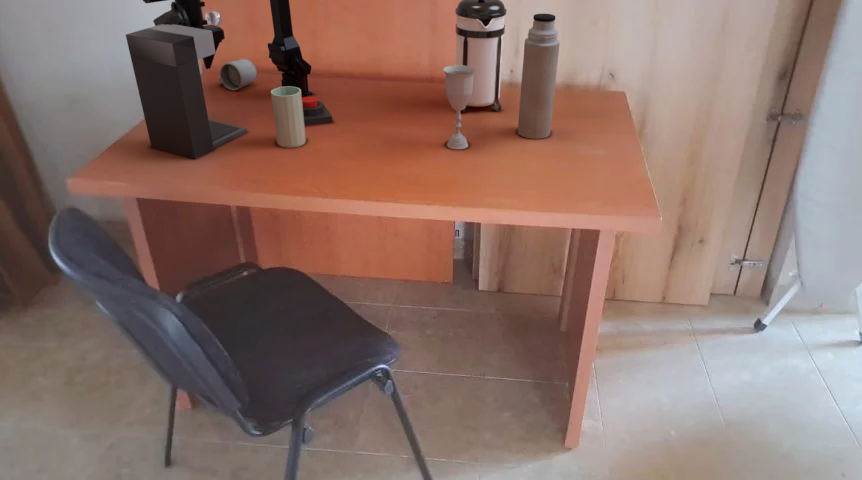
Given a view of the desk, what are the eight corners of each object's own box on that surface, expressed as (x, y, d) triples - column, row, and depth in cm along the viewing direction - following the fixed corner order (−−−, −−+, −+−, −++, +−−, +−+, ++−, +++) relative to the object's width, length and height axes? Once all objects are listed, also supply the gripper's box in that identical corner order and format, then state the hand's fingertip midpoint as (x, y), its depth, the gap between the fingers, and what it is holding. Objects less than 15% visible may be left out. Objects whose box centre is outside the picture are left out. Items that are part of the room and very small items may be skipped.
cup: (294, 134, 171) (289, 84, 164) (311, 142, 167) (306, 91, 160) (271, 142, 167) (264, 91, 160) (288, 150, 163) (282, 98, 156)
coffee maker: (206, 122, 178) (187, 16, 163) (248, 132, 172) (232, 24, 158) (151, 147, 164) (125, 34, 150) (195, 159, 159) (172, 43, 144)
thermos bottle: (523, 124, 176) (532, 9, 161) (554, 129, 174) (566, 13, 158) (513, 135, 170) (522, 17, 155) (544, 141, 168) (556, 20, 152)
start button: (299, 104, 180) (298, 97, 179) (315, 102, 181) (315, 95, 180) (302, 109, 176) (301, 103, 175) (319, 107, 178) (319, 101, 177)
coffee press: (518, 103, 189) (526, -14, 173) (480, 119, 179) (486, -3, 163) (469, 89, 199) (473, -23, 183) (431, 103, 189) (431, -14, 173)
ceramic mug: (260, 83, 203) (256, 57, 199) (243, 92, 196) (238, 65, 192) (231, 79, 206) (226, 53, 202) (213, 87, 200) (208, 60, 196)
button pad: (289, 112, 183) (287, 99, 182) (322, 108, 186) (321, 95, 184) (297, 127, 175) (295, 114, 173) (332, 122, 177) (331, 109, 175)
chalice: (476, 141, 167) (479, 67, 157) (468, 152, 162) (471, 75, 152) (447, 137, 169) (448, 63, 159) (438, 148, 164) (439, 72, 154)
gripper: (134, -5, 162) (147, 63, 170) (176, 8, 151) (188, 80, 160) (178, -11, 169) (188, 54, 177) (221, 1, 158) (230, 70, 167)
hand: (197, 64), depth 170 cm, fingers open, 9 cm apart
